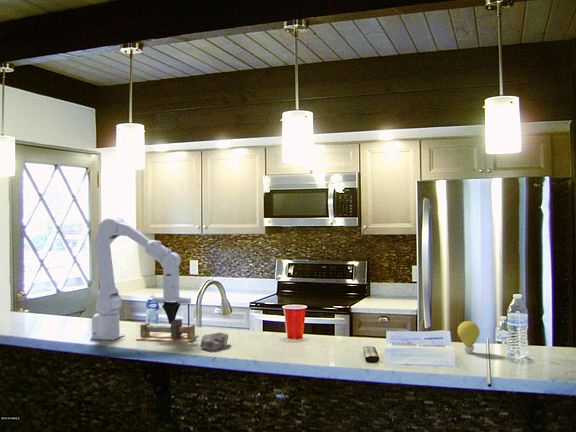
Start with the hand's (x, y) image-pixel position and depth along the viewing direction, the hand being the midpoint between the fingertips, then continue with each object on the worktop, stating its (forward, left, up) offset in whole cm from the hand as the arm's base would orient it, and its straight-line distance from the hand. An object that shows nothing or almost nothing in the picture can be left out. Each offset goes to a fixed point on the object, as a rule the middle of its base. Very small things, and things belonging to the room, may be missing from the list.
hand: (171, 323), depth 210 cm
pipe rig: (-2, 0, -6) cm, 6 cm away
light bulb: (+103, 0, -6) cm, 103 cm away
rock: (+20, -9, -6) cm, 23 cm away
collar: (+2, 0, -6) cm, 6 cm away
